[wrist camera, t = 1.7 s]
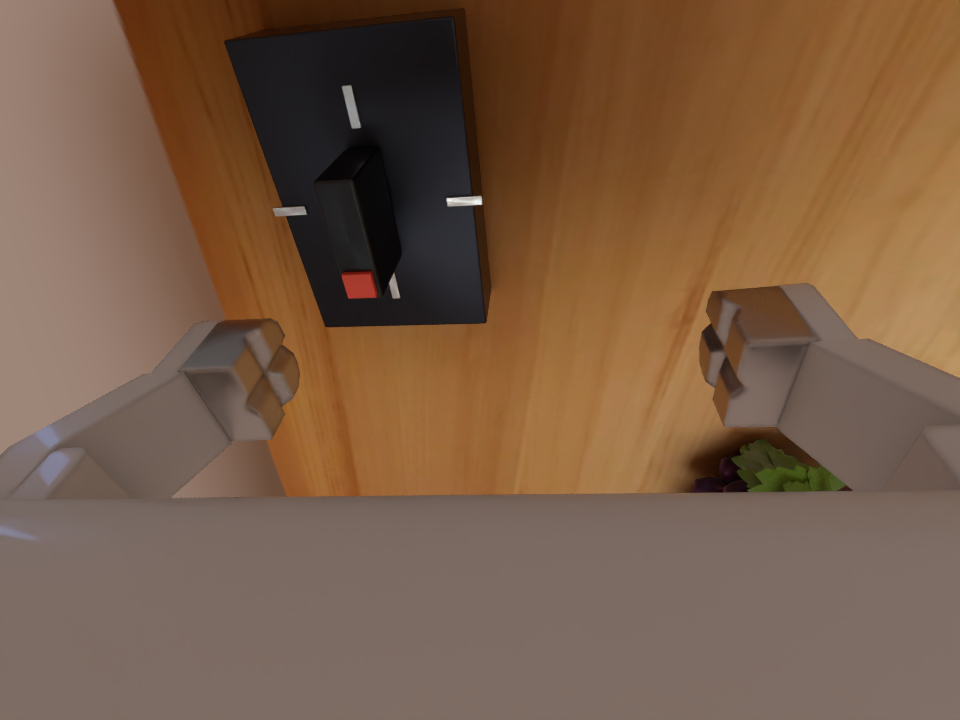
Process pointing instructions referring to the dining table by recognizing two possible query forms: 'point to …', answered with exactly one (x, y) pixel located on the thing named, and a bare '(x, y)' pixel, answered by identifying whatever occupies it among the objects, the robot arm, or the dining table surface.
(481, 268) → the knob panel
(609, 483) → the dining table surface
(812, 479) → the fruit
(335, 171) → the oven knob
